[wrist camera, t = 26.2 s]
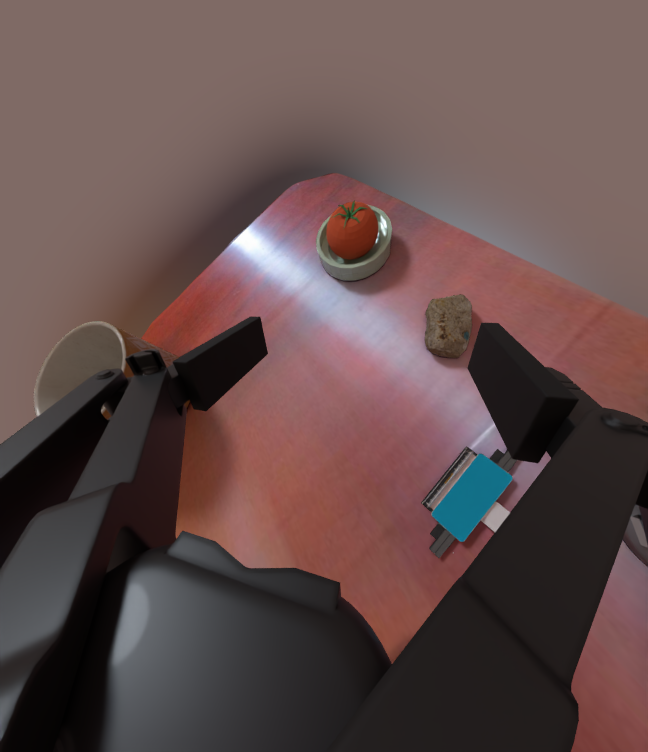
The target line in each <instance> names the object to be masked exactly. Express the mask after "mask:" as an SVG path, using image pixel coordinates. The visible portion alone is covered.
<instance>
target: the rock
mask: <svg viewBox="0 0 648 752" xmlns="http://www.w3.org/2000/svg"><path fill="white" fill-rule="evenodd" d="M471 312H472V305H471V303H470V301H469V300H468V299H467V298H466V297H465V296H464V295H453V296H451V297H445V298H439V299H432V300H431V301H430V303H429V305H428V309H427V310H426V318H427V329H426V332H425V343H426V347H427V349H428V350H429V351H430V352H431V353H433V354H437V355H439V356H443V357H448V358H449V357H452V358H457V357H460V355H461V354H462V353H463V352H464V351H466V348H467V345H468V342H469V338H470V333H471V328H472V319H471V315H472V314H471Z"/></svg>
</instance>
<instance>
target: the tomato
mask: <svg viewBox="0 0 648 752" xmlns="http://www.w3.org/2000/svg"><path fill="white" fill-rule="evenodd" d="M338 206H340V207H338V208H337V209H336V210H335V211H334V212H333V214H332V215H331V217H330V219H329V221H328V224H327V230H326V235H327V241H328V244H329V246H330V248H331V250H332V251H333V252H334V253H335V254H336V255H337V256H339V257H341V258H343V259H348V260H353V259H357V258H360V257H362V256H364V255H365V254H367V253H368V252H369V251H370V250H371V248H372V247H373V245H374V244H375V241H376V239H377V236H378V220H377V218H376V215H375V213H374V212H373V210H372V209H371V208H370V207H369V206H368V205H366V204H364V203H361V202H355V200H354V202H348V203H346V204H343V205H338Z"/></svg>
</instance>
